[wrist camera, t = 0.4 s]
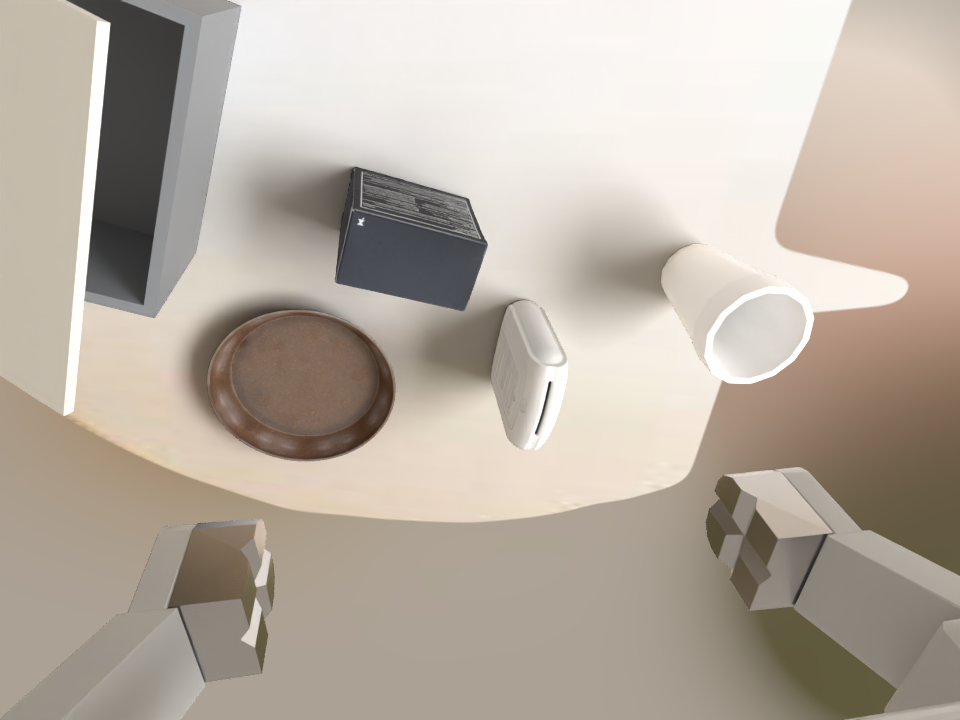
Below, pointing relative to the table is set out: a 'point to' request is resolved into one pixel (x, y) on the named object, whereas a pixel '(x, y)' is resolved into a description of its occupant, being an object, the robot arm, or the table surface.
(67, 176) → the lid flap
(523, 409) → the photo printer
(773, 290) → the foam cup
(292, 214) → the table surface
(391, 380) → the plant saucer
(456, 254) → the small box
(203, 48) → the carton
